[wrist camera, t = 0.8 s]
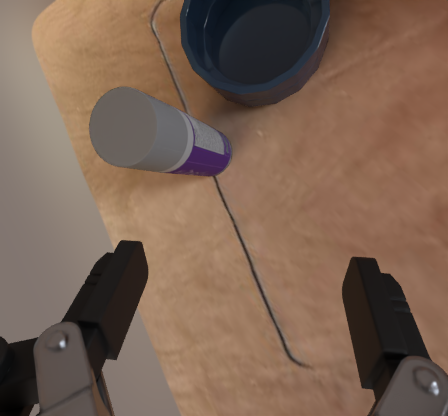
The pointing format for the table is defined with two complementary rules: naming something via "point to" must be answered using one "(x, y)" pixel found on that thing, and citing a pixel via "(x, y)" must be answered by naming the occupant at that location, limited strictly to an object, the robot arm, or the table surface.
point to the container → (155, 136)
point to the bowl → (255, 45)
